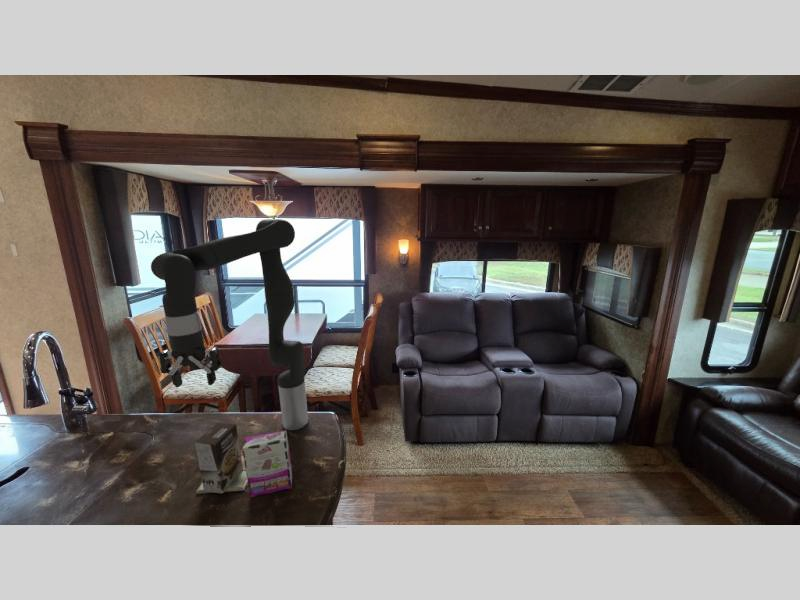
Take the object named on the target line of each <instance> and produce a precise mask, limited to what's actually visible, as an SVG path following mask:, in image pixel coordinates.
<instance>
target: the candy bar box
mask: <svg viewBox="0 0 800 600" xmlns="http://www.w3.org/2000/svg"><path fill="white" fill-rule="evenodd" d="M287 431H288V430H287V429H284V430H279V431H274V432H269V433H264V434H259V435H258V434H257V435H254V436H248V437H245V439H244V442H243V446H242V456H244V462H245V468H246V474H247V479H248V483H247V486H248V490H249V496H250V498H255V497H259V496H265V495H268V494H273V493H277V492H280V491H284V490H290V489H292V481H293V472H292V463H291V455H290V448H289V447H290V446H289V439H288V432H287Z"/></svg>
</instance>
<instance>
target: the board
mask: <svg viewBox="0 0 800 600" xmlns="http://www.w3.org/2000/svg"><path fill="white" fill-rule="evenodd" d="M241 460H242V466H243V470H242V471H241V472H240V474H239V475H238V476H237V477H236V478H235V480H234V481H233V482H232V483H231V484H230V485H229V487H228V488H227V489H226V490H225V491H224V493H226V492H227V493H228V492H238V491H239V492H241V491H245V489H246V487H247V486H248V479H247V474H246V468H245V462H244V456H243V455H241ZM195 492H196V494H198V495H199V494H211V493H213V494H214V493H215V492H209V491H204V489H203V484H202V482H201V484H200V485H199V487H198V488H197V490H196V491H195Z"/></svg>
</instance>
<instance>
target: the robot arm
mask: <svg viewBox="0 0 800 600" xmlns="http://www.w3.org/2000/svg"><path fill="white" fill-rule="evenodd" d="M295 237H296V231H295V229H294V226H293V225H292V224H291V222H289V221H288V220H285V219H281V218H266V219H265V218H264V219H262V220H260V221H259V222H258V223H257V225H256V228H255V231H251V232H248V233H244V234H238V235H232V236H226V237H221V238H217V239H214V240H210V241H207V242H204V243H201V244H198V245H196V246H192V247H185V248H181V249H175V250H171V251H168V252H167V251H166V252H163V253H159V255H157V256H156V257H154V258H153V259H152V261H151V263H150V270H151V272H152V274H153V275H154V276H155V277H156V278H158V279H160V280H163V281H164V284H165V293H164V294H163V295H162V300H161V301H162V306H163V310H164V316H165V318H164V319H165V327H166V332H167V339H168V342H169V346H170V350H169V349H164V350H163V351H161V352H160V353H159V354H158V355H159V356H158V358H159V363H160V370H161V373H162V374H169V375H170V376H171V381H172V384H173V386H175V388H180V387H181V386H182V385H183V379H182V373H181V371H180V370H181V369H182V367H188V366H190V367H196V366H197V367H198V368H199V369H202V370H203V371H205V373H206V381H207V385H208V386H213V384H214V383H216V380H217V376H216V372H217V371H218V370H219V369H221V367H222V362H221V358H220V357H221V356H220V353H219V349H218V347H216V346H214V347H213V348H209V349H207V348H206V347H205V340H204V334H203V327H202V322H201V318H200V315H199V311H198V305H197V300H196V295H195V294H196V287H197V285H196V284H197V283H196V282H197V272H199V271H209V270H213V269H216V268H219V267H222V266H224V265H226V264H230V263H232V262H235V261H238V260H240V259H244V258H246V257H249V256H252V255H254V254H259V256H260V257H259V258H260V262H261V270H262V277H263V285H264V287H263V288H264V297H265V307H266V312H267V325H268V353H269V354H268V355H269V360H270V363H271V364H272V365H274V366H278V367H285V368H286V367H289V369H288V370H286V371H283V372H282V373H280V374H279V375H278V377H277V387H278V394H279V396H278V397H279V403H280V413H281V420H282V421H281V422H282V427H283V428H284V430H286V431H298V430H300V429H302V428H304V427H306V425H307V424H308V422H309V415H308V404H307V402H308V401H307V392H306V391H307V390H306V383H305V373H306V371H305V370H306V369H305V348H304V345H303V343H302V341H300V340H288V339H287V340H285V339H284V328H285V325H286V323H287V321H288V319H289V317H290V315H291V314H292V312H293V310H294V308H295V294H294V285H293V282H292V280H291V278H290V276H289V274H288V272H287V270H286V268H285V266H284V264H283V261H282V255H281V249H283V248H286V247H289V246H291V244H293V242H294V240H295ZM206 355H207V356H206ZM171 358H173V359H174V360H175V362H174V363H173V365H172V360H171ZM209 358H210V359H209Z"/></svg>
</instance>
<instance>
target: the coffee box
mask: <svg viewBox="0 0 800 600" xmlns="http://www.w3.org/2000/svg"><path fill="white" fill-rule="evenodd" d="M238 434H239V433H238V429H237V424H236V423H224V422H216V423H215V424H214V425H213V426H212V427H211V428H210V429H209V430H207V431H206V432H205V433H204V434H203V435H201V436H200V437H199V438H198V439H197V440H196V441H195V442H194V444H195V450H196V456H197V460H198V461H197V462H198V467H199V472H200V477H201V483H202V484H203V489H204V491H209V492H214V493H217V494H223V493H225V492H224V491H225V490H226V489H227V488H228V487H229V485H230V484H231V483H232V482H233V481H234V480H235V478H236V477H237V476H238V475H239V474H240V472H241V471H242V470H243V466H242V460H241V456H242V454H241V448H240V443H239V442H240V441H239V435H238Z"/></svg>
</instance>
